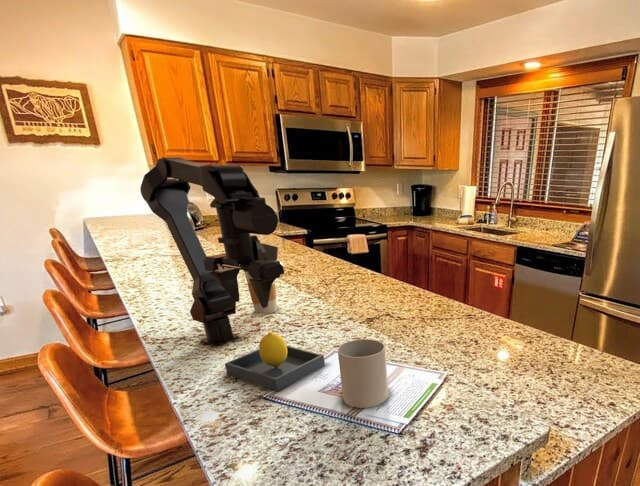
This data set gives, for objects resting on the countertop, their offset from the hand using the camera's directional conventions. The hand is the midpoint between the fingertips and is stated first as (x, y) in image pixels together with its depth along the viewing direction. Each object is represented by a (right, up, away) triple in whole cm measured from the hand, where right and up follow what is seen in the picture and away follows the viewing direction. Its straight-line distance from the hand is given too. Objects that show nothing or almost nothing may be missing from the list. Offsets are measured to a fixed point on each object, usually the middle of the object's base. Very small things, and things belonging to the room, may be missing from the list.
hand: (250, 304), depth 94 cm
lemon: (+7, -14, -3) cm, 16 cm away
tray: (+7, -14, -3) cm, 16 cm away
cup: (+28, -19, -13) cm, 36 cm away
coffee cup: (-10, +2, +35) cm, 36 cm away
